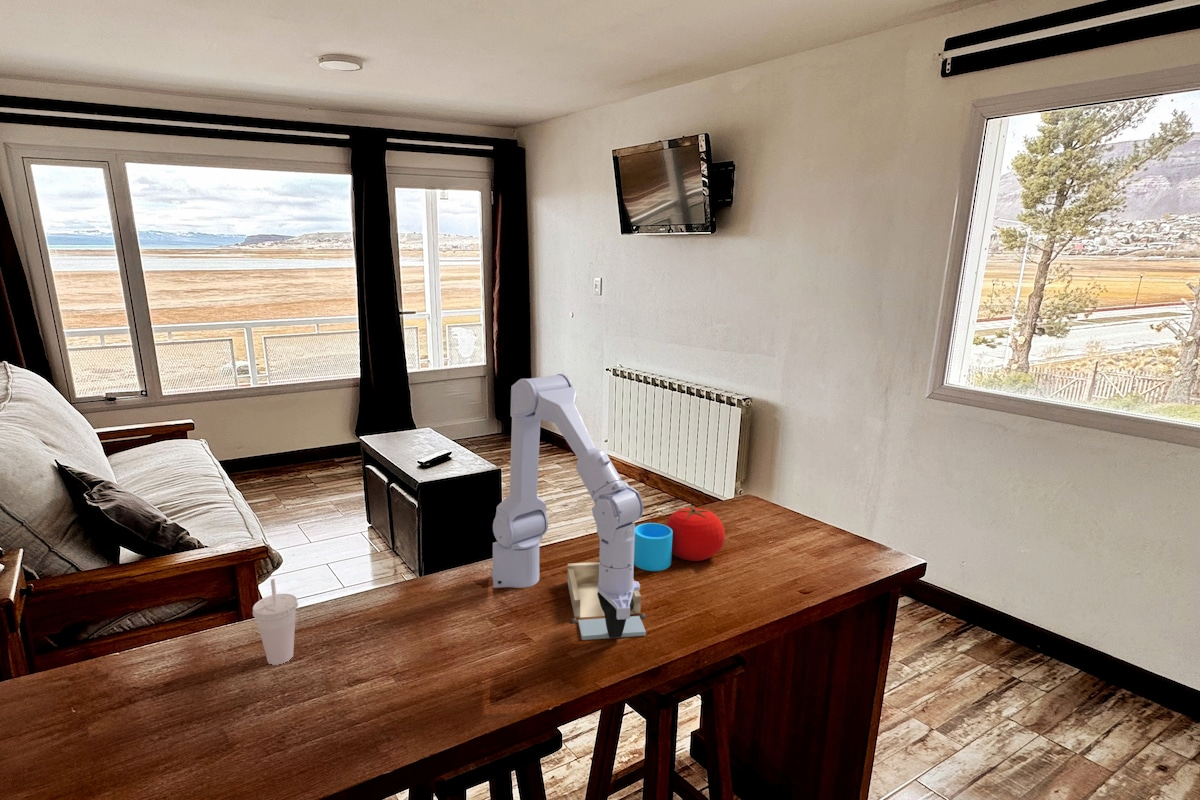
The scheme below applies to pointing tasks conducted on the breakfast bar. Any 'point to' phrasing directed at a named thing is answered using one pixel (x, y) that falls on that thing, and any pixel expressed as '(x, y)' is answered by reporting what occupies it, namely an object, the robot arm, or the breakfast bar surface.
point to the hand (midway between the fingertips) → (614, 634)
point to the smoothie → (277, 625)
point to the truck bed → (590, 591)
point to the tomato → (695, 533)
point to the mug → (653, 546)
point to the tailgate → (599, 629)
